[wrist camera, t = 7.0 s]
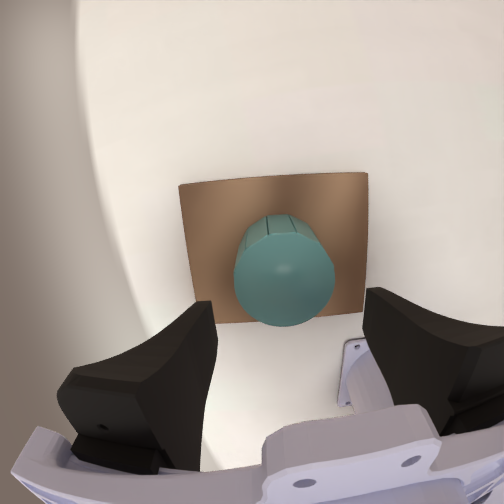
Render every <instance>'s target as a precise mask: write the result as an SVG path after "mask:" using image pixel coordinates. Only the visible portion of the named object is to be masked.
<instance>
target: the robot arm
mask: <svg viewBox="0 0 504 504" xmlns="http://www.w3.org/2000/svg"><path fill="white" fill-rule="evenodd" d="M362 329H363V332H364V335H365V338H366V339H360V340H352V341H349V342H347V343H346V344H345V348H344V356H343V365H342V372H341V380H340V387H339V394H338V400H337V404H338V406H340V407H344V406H350V405H353V408H354V412H355V414H353V415H347V416H341V417H334V418H327V419H319V420H311V421H304V422H300V423H296V424H292V425H287V426H284V427H283V428H281V429H279V430H278V431H276V432H274V433H273V434H271V435H269V436H268V437H266V440H265V442H264V444H263V447H262V464H258V465H252V466H247V467H241V468H234V469H227V470H219V471H211V472H200V456H201V441H202V429H203V419H204V411H205V404H206V399H207V395H208V391H209V387H210V383H211V379H212V375H213V371H214V366H215V362H216V357H217V346H218V337H217V331H216V325H215V320H214V314H213V308H212V302H211V300H210V301H197V302H195V303H194V304H193V305H192V306H191V307H189V308H188V309H187V310H186V311H185V312H184V313H183V314H181V315H180V316H179V317H178V318H177V319H176V320H174V321H173V322H172V323H171V324H169V325H168V326H167V327H166V328H164V329H163V330H162V331H160V332H159V333H158V334H156V335H155V336H153V337H152V338H150V339H149V340H147V341H145V342H144V343H142V344H140V345H138V346H136V347H134V348H132V349H130V350H128V351H126V352H124V353H122V354H119V355H117V356H114V357H111V358H109V359H106V360H103V361H100V362H96V363H92V364H88V365H84V366H80V367H75V368H73V370H72V371H71V372H70V374H69V375H68V376H67V378H66V379H65V381H64V382H63V384H62V385H61V386H60V388H59V390H58V391H57V400H58V403H59V406H60V407H61V409H62V411H63V413H64V414H65V416H66V417H67V419H68V420H69V422H70V423H71V425H72V426H73V427H74V429H75V430H76V432H77V433H78V436H77V438H76V439H75V441H74V443H73V445H71V443H70V442H69V441H68V440H67V438H66V437H64V436H63V435H61V434H60V433H57V432H55V431H52V430H49V429H46V428H43V427H40V426H37V427H36V429H35V430H34V432H33V434H32V435H31V437H30V439H29V440H28V442H27V443H26V445H25V447H24V449H23V450H22V452H21V454H20V455H19V457H18V459H17V461H16V462H15V464H14V466H13V468H12V470H11V474H12V475H13V476H14V477H15V478H16V479H18V480H19V481H20V482H21V483H22V484H23V485H24V486H25V487H27V488H28V489H29V490H30V491H31V492H32V493H34V494H35V495H36V496H37V497H38V498H40V499H41V500H42V501H43V502H45V503H46V504H504V327H503V326H487V325H479V324H473V323H468V322H463V321H459V320H455V319H452V318H448V317H445V316H443V315H440V314H437V313H434V312H432V311H429V310H427V309H425V308H422V307H420V306H418V305H416V304H414V303H412V302H410V301H408V300H406V299H404V298H402V297H400V296H398V295H396V294H394V293H392V292H390V291H388V290H386V289H384V288H381V287H374V288H366V299H365V309H364V318H363V327H362ZM356 345H358V346H357V347H355V346H356Z"/></svg>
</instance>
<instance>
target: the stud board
mask: <svg viewBox="0 0 504 504" xmlns="http://www.w3.org/2000/svg"><path fill="white" fill-rule="evenodd" d="M178 188H179V196H180V204H181V211H182V218H183V225H184V232H185V239H186V245H187V252H188V258H189V264H190V270H191V276H192V282H193V287H194V293H195V298H196V302H197V301H210V300H211V302H212V308H213V314H214V320H215V324H220V323H242V322H259V321H258V320H256V319H254V318H253V317H251V316H250V315H249V314H248V313H247V312H246V311H245V310H244V309H243V308H242V306H241V305H240V303H239V301H238V299H237V296H236V293H235V288H234V274H233V273H234V268H235V263H236V258H237V253H238V248H239V245H240V243H241V241H242V239H243V236H244V234H245V232H246V230H247V228H248V227H250V226H251V225H253V224H254V223H256V222H257V221H259V220H260V219H262V218H263V217H265V216H266V217H267V215H281V214H288V216H289V215H291V216H293V217H296V218H298V219H300V220H302V221H304V222H306V223H307V224H308V225H309V226H310V228H311V229H312V231H313V232H314V234H315V235H316V237H317V238H318V240H319V242H320V243H321V245H322V246H323V248H324V250H325V251H326V253H327V254H328V256H329V258H330V259H331V261H332V263H333V264H334V272H335V286H334V290H333V293H332V296H331V298H330V300H329V302H328V303H327V305H326V306H325V307H324V308H323V309H322V311H321V312H319V313H318V314H317V315H316V316H314V317H321V316H331V315H340V314H349V313H358V312H363V302H364V291H365V278H366V263H367V243H368V173H364V172H355V173H317V174H296V175H278V176H264V177H251V178H239V179H228V180H218V181H208V182H199V183H190V184H182V185H179V186H178Z"/></svg>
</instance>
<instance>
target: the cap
mask: <svg viewBox="0 0 504 504" xmlns="http://www.w3.org/2000/svg"><path fill="white" fill-rule="evenodd" d="M233 274H234V288H235V293H236V296H237V299H238V301H239V303H240V305H241V306H242V308H243V309H244V310H245V311H246V312H247V313H248V314H249V315H250V316H251V317H253V318H254V319H256V320H258V321H260V322H262V323H265V324H268V325H272V326H279V327H286V326H294V325H298V324H301V323H303V322H306V321H308V320H310V319H311V318H313V317H314V316H316V315H317V314H318V313H319V312H321V311H322V309H323V308H324V307H325V306H326V305H327V303H328V302H329V300H330V298H331V296H332V293H333V290H334V286H335V272H334V264H333V263H332V261H331V259H330V258H329V256H328V254H327V253H326V251H325V250H324V248H323V246H322V245H321V243H320V242H319V240H318V238H317V237H316V235H315V234H314V232H313V231H312V229H311V228H310V226H309V225H308V224H307V223H306V222H304V221H302V220H300V219H298V218H296V217H293V216H291V215H289V216H288V214H281V215H267V217H266V216H265V217H263V218H262V219H260V220H259V221H257V222H256V223H254V224H253V225H251V226H250V227H248V228H247V230H246V232H245V234H244V236H243V239H242V241H241V243H240V245H239V248H238V253H237V258H236V263H235V268H234V273H233Z"/></svg>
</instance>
